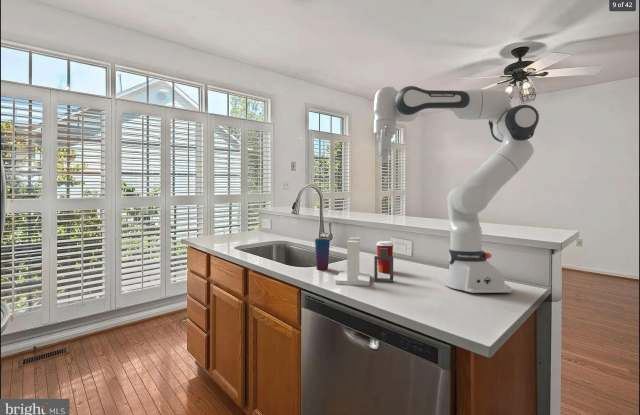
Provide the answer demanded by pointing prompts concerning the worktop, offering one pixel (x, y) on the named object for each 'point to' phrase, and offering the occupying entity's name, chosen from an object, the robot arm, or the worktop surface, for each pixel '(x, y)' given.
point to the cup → (322, 253)
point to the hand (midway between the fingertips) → (384, 164)
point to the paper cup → (385, 264)
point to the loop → (383, 257)
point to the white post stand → (353, 267)
